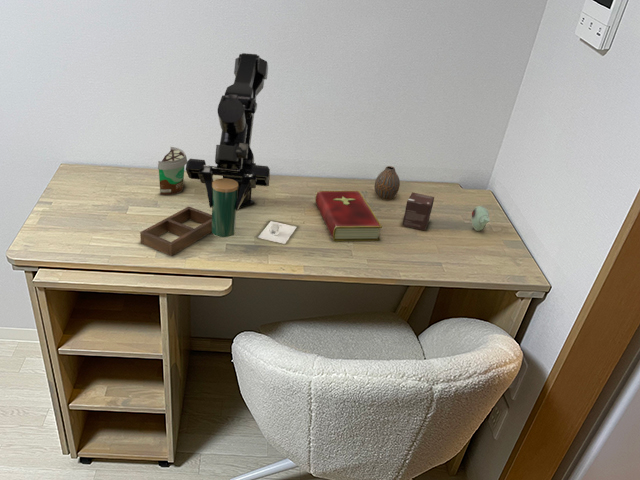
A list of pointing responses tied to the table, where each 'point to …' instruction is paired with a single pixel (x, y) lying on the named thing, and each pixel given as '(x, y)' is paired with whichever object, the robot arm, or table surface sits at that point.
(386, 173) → the vase
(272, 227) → the adhesive hook
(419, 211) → the box
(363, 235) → the hardcover book
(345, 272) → the table surface
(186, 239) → the rack
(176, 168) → the food container
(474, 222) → the pale green lumpy piece
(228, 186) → the canister
